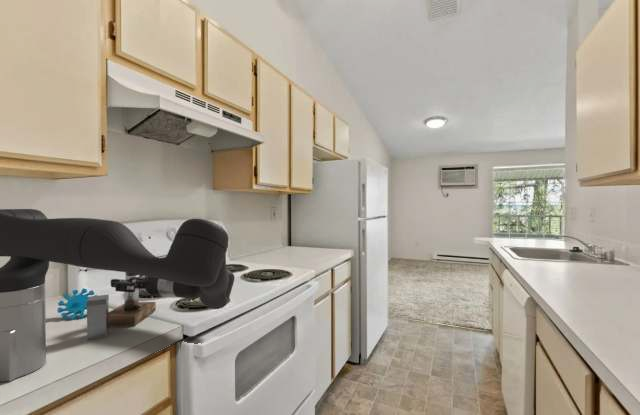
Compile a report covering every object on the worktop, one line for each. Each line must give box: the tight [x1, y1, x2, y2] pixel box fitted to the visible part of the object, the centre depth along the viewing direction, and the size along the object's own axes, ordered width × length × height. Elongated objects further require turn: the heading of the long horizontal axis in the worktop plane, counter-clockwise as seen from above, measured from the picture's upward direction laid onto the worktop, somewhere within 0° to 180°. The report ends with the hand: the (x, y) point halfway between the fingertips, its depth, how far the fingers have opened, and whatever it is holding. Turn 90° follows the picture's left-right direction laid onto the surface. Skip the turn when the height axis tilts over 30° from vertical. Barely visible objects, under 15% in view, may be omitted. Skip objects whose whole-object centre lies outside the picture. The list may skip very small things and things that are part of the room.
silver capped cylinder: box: [123, 272, 140, 311], centre depth 92 cm, size 4×4×14 cm
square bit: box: [86, 294, 110, 341], centre depth 80 cm, size 4×4×10 cm
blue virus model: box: [56, 288, 98, 321], centre depth 96 cm, size 11×6×10 cm
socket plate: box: [109, 301, 157, 328], centre depth 92 cm, size 12×9×3 cm
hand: (125, 279), depth 92 cm, fingers open, 8 cm apart
